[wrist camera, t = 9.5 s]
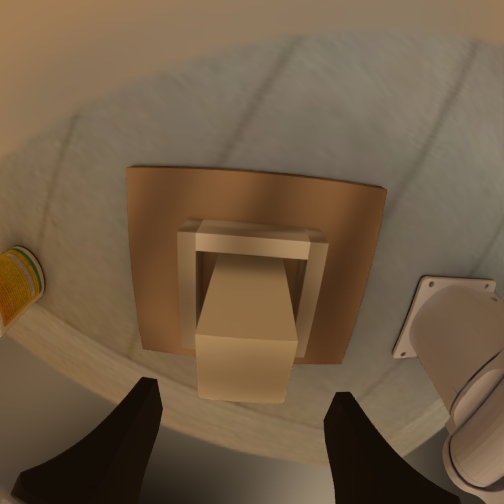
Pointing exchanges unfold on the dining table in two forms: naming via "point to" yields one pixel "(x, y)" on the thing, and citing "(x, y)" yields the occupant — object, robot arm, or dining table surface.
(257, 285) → the peg
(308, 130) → the dining table surface
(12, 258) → the supplement bottle
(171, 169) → the socket board
